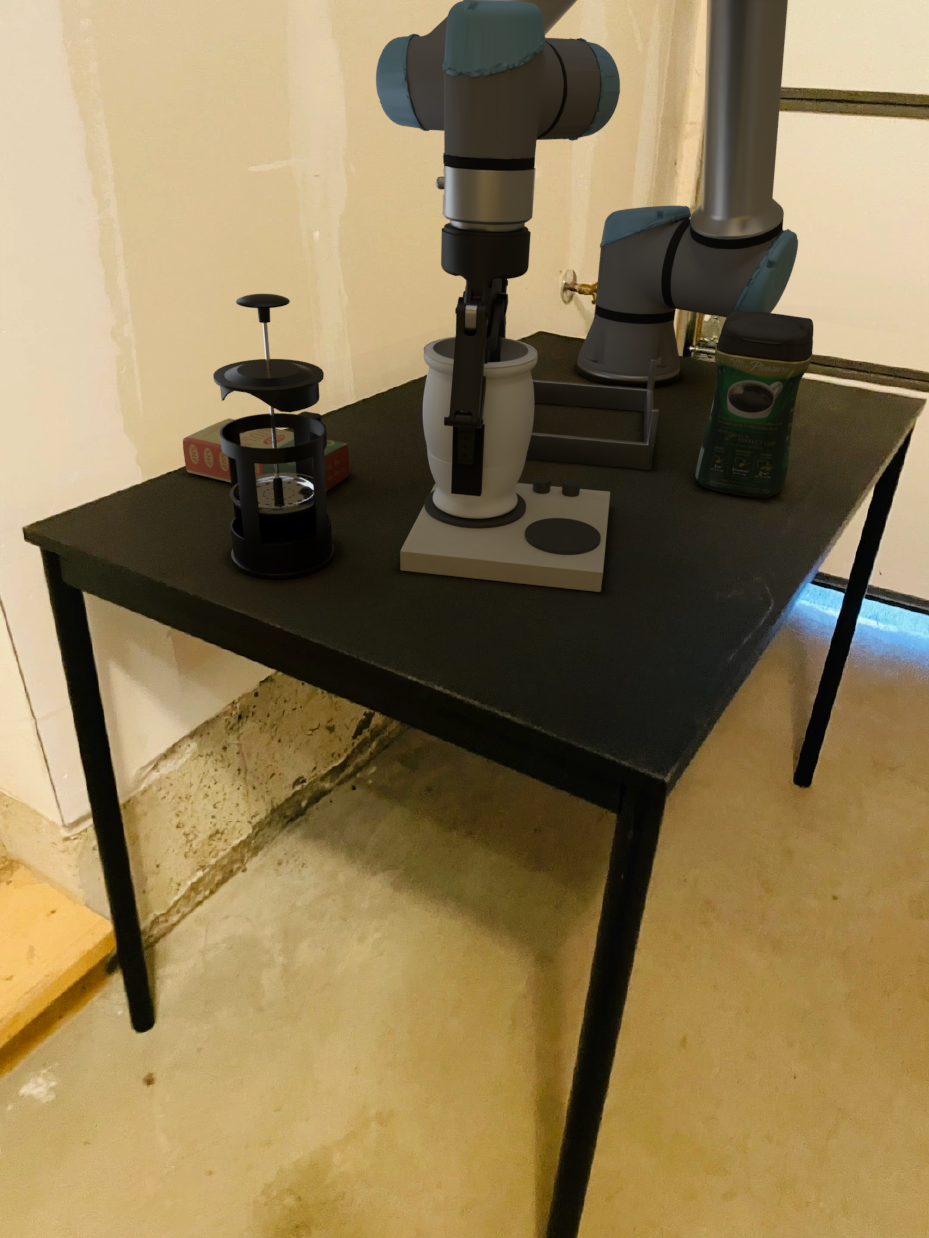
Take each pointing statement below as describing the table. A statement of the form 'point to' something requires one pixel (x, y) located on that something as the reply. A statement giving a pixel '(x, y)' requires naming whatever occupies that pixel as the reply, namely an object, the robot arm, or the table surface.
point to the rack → (597, 448)
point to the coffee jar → (754, 402)
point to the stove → (518, 539)
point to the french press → (277, 496)
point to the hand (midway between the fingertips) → (476, 470)
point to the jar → (503, 421)
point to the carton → (212, 462)
